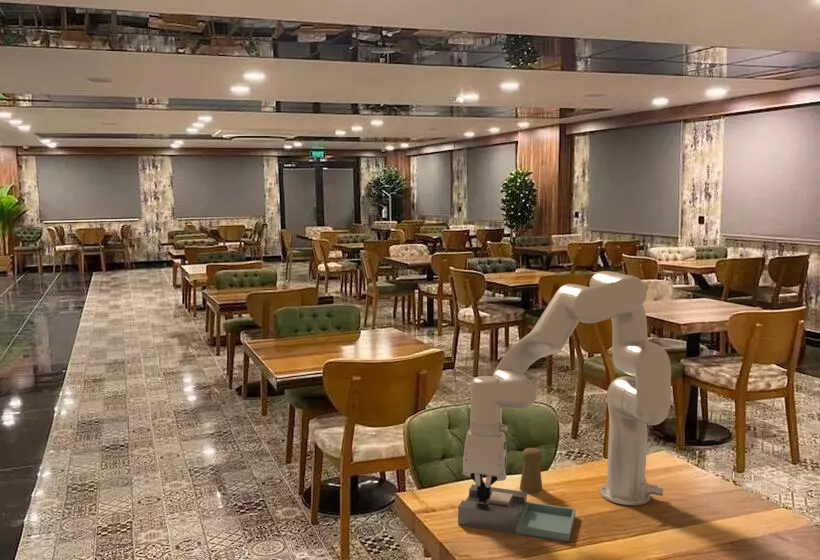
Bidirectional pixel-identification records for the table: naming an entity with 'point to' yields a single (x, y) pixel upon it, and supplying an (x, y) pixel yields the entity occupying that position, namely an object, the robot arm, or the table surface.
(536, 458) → the brown pepper mill
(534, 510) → the tray
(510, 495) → the tan square block
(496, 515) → the slotted ledge
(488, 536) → the table surface
